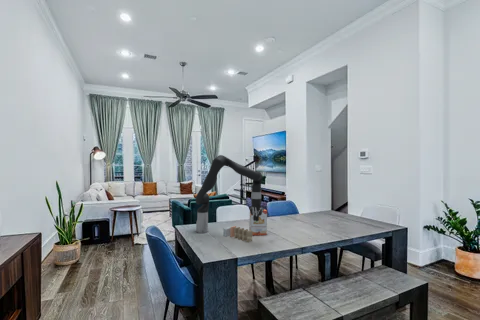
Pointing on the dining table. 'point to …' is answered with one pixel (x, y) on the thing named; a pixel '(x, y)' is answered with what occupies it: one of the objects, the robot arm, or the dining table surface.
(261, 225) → the cracker box
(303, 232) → the dining table surface
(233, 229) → the domino
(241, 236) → the domino
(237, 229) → the domino
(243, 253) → the dining table surface
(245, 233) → the domino
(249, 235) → the domino
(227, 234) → the end block
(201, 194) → the robot arm
